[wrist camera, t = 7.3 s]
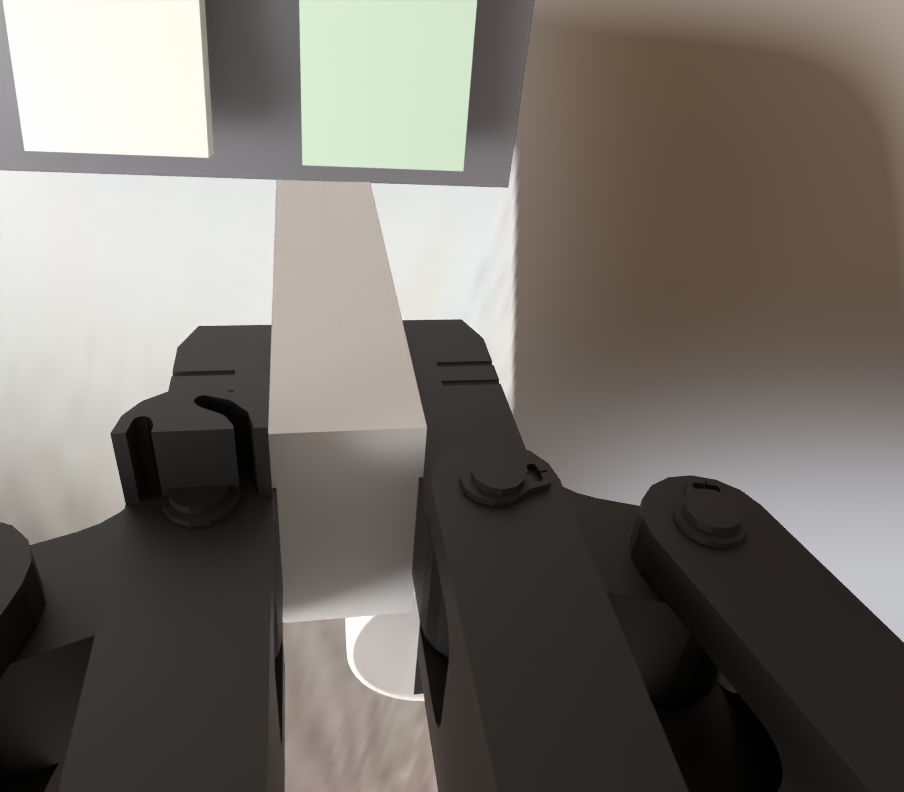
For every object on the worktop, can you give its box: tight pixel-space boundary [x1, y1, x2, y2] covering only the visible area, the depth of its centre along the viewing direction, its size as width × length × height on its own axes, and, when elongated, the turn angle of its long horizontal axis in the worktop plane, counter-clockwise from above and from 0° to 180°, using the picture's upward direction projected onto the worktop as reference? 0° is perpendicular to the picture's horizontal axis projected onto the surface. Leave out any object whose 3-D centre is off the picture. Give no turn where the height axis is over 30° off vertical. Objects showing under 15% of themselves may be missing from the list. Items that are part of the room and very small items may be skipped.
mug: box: [345, 589, 425, 701], centre depth 38 cm, size 12×8×12 cm
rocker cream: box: [3, 0, 214, 158], centre depth 23 cm, size 5×7×1 cm
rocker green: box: [299, 0, 477, 171], centre depth 24 cm, size 5×7×1 cm
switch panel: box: [0, 0, 534, 188], centre depth 26 cm, size 18×10×5 cm, turn 84°
